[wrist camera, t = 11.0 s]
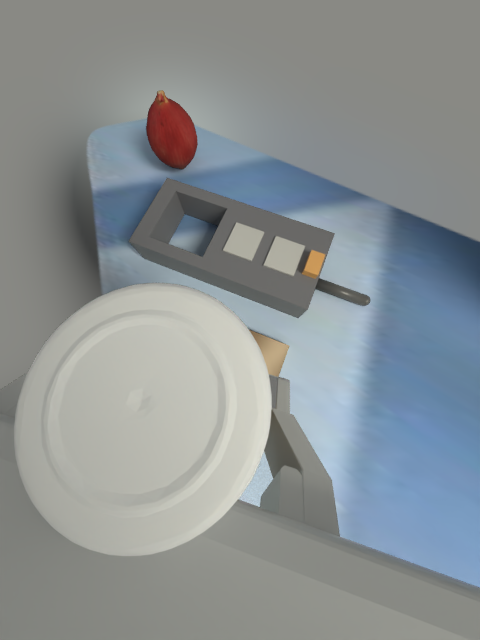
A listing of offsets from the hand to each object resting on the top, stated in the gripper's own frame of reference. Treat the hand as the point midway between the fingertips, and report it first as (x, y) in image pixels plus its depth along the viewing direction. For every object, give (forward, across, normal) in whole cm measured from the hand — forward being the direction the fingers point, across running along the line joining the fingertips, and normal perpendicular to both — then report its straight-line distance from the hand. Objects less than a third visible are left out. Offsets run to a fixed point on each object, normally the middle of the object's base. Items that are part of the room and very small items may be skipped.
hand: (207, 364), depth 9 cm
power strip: (+18, 0, 0) cm, 18 cm away
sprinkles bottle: (+5, 0, +6) cm, 8 cm away
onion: (+26, +14, -8) cm, 31 cm away
